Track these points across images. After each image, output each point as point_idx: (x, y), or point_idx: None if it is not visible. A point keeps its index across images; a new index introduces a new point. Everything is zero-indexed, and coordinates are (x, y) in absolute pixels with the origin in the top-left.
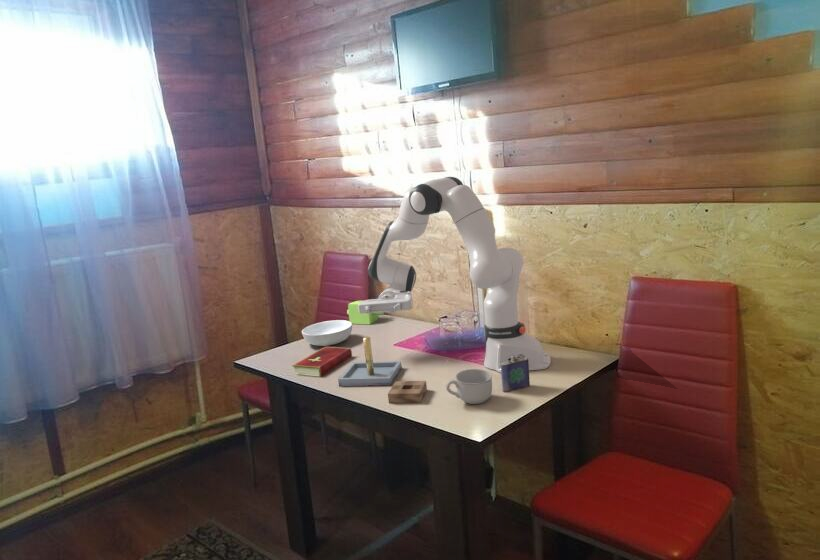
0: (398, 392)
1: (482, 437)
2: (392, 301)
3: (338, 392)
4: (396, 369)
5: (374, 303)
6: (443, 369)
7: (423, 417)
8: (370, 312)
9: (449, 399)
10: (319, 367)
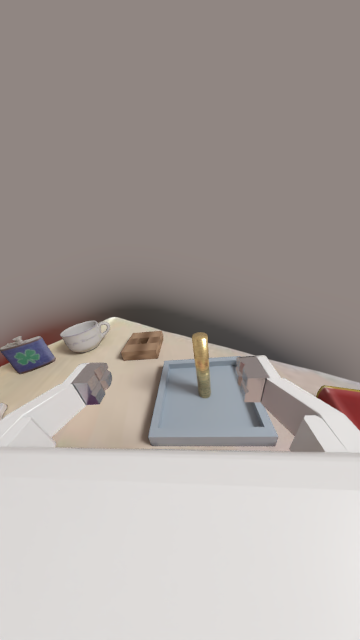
0: (151, 333)
1: (110, 318)
2: (11, 471)
3: (227, 351)
4: (157, 395)
5: (267, 456)
6: (72, 429)
7: (136, 327)
8: (241, 387)
9: (109, 346)
10: (324, 388)
